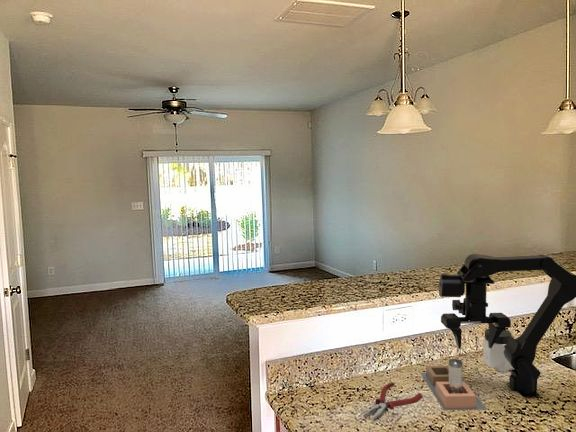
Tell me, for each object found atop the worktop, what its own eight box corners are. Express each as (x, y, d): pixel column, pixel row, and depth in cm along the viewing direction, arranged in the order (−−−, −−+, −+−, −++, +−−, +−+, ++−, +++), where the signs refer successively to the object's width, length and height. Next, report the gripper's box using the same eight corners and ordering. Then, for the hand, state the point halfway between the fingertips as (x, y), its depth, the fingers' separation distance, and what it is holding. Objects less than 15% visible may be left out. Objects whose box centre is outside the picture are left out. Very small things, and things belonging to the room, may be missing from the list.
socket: (464, 392, 129) (464, 381, 129) (476, 408, 121) (476, 396, 121) (435, 393, 130) (435, 381, 129) (445, 408, 121) (445, 396, 121)
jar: (478, 361, 152) (479, 327, 151) (501, 360, 153) (502, 326, 152) (492, 373, 143) (493, 337, 142) (516, 371, 144) (517, 336, 143)
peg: (454, 395, 128) (454, 357, 127) (464, 401, 125) (465, 362, 123) (445, 399, 126) (446, 360, 125) (456, 404, 123) (456, 365, 122)
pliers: (350, 413, 122) (350, 404, 122) (390, 387, 136) (390, 379, 136) (385, 431, 114) (385, 421, 114) (424, 401, 128) (424, 393, 128)
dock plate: (457, 375, 142) (457, 363, 142) (487, 413, 120) (487, 399, 120) (420, 376, 142) (420, 364, 142) (443, 413, 121) (443, 399, 120)
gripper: (495, 289, 138) (493, 337, 140) (435, 290, 138) (434, 338, 140) (512, 299, 127) (510, 351, 129) (447, 301, 127) (446, 352, 129)
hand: (474, 348), depth 132 cm, fingers open, 9 cm apart
